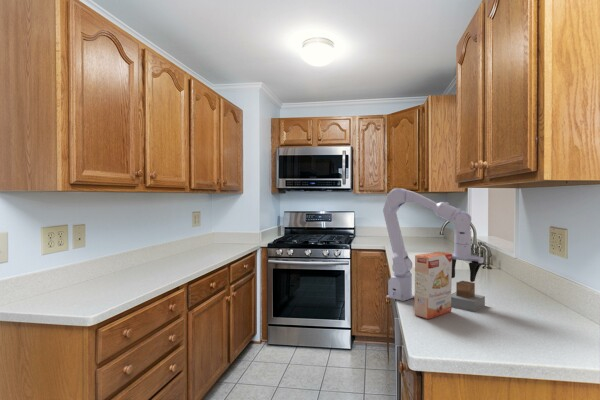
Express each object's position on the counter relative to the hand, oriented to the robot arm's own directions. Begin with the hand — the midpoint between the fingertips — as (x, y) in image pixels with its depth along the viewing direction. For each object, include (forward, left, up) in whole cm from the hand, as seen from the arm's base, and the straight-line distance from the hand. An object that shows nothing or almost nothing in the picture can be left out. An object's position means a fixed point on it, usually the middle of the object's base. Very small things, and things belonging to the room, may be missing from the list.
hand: (462, 279), depth 136 cm
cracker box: (-18, +1, -10) cm, 21 cm away
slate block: (-1, -2, -10) cm, 10 cm away
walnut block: (0, -2, -6) cm, 6 cm away
